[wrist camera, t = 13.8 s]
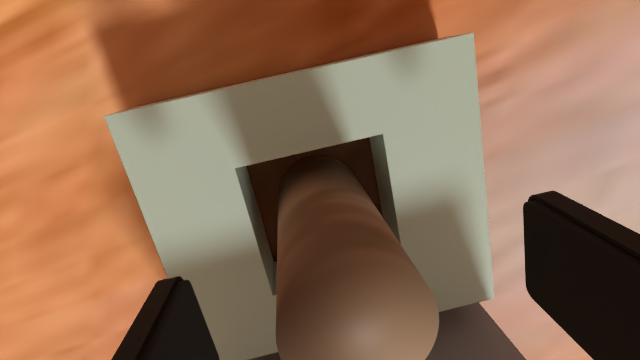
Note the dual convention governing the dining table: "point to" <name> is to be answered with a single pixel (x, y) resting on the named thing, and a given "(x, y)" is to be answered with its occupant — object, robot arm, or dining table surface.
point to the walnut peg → (344, 273)
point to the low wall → (463, 337)
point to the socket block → (301, 136)
